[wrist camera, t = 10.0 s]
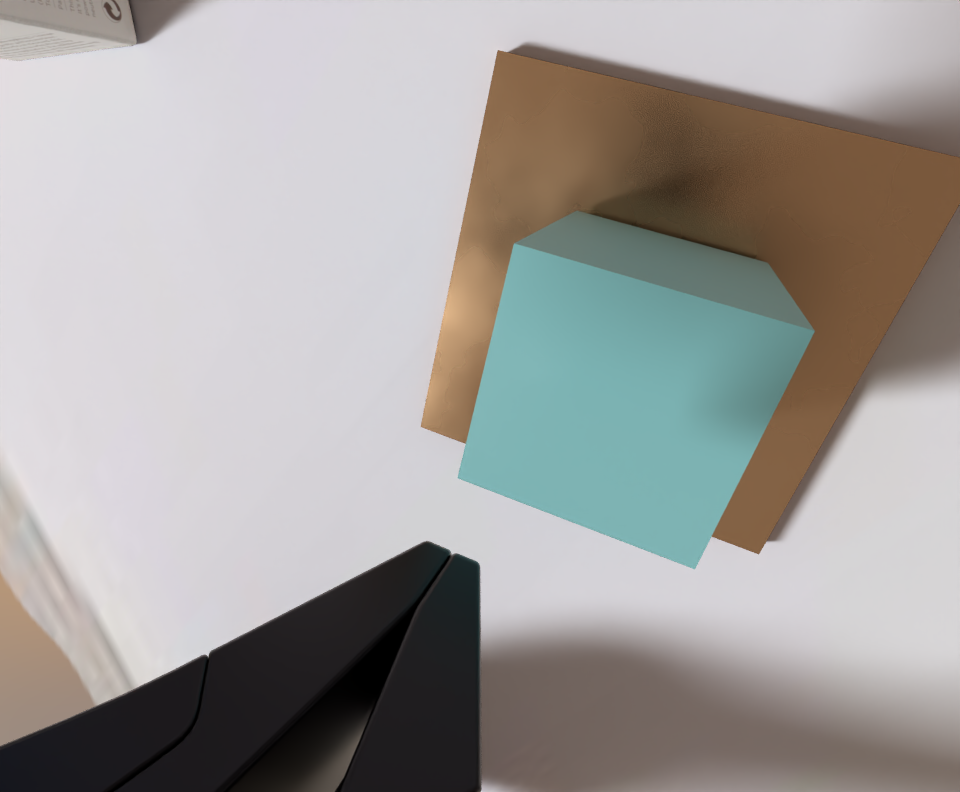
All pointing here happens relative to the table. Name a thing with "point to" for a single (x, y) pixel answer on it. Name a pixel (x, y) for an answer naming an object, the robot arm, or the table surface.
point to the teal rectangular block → (631, 380)
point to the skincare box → (63, 27)
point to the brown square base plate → (699, 234)
